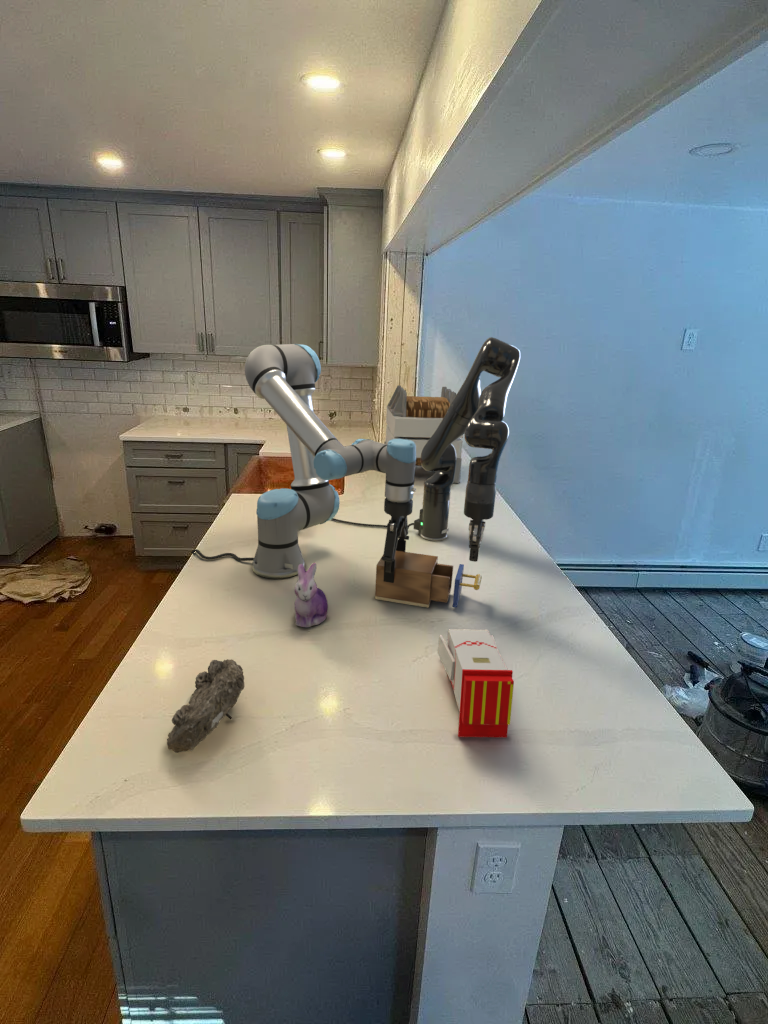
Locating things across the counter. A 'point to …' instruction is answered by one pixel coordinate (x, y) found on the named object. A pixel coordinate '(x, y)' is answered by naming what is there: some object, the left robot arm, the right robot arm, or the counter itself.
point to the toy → (478, 682)
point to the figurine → (309, 599)
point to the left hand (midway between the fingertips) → (394, 571)
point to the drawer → (449, 583)
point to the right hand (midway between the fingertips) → (473, 560)
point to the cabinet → (407, 579)
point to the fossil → (206, 705)
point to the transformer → (419, 421)
